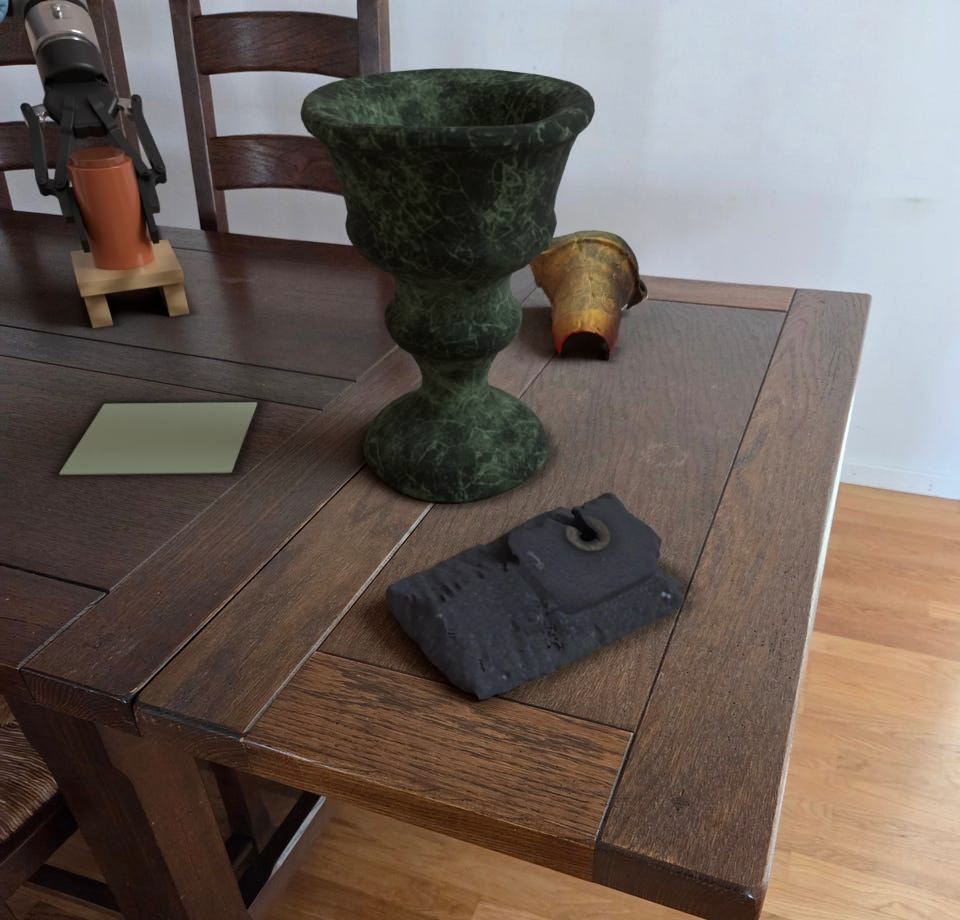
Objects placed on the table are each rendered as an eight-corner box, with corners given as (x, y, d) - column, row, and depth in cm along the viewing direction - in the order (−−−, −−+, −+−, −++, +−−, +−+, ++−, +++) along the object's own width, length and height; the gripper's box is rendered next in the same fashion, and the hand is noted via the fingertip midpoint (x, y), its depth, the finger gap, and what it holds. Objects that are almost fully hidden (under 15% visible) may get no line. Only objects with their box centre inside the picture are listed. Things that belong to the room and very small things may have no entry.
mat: (60, 477, 83) (58, 473, 82) (105, 407, 93) (104, 403, 93) (231, 475, 83) (231, 471, 83) (257, 405, 93) (257, 402, 93)
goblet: (301, 492, 81) (241, 116, 61) (395, 385, 97) (373, 60, 77) (534, 535, 75) (553, 140, 55) (593, 415, 91) (624, 74, 71)
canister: (86, 270, 107) (54, 162, 99) (104, 250, 112) (75, 146, 104) (146, 270, 107) (119, 161, 99) (161, 249, 112) (137, 145, 104)
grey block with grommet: (359, 601, 69) (354, 551, 66) (577, 510, 78) (581, 463, 75) (472, 718, 60) (471, 667, 56) (704, 599, 69) (715, 549, 66)
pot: (521, 288, 94) (537, 184, 103) (489, 363, 103) (506, 263, 112) (669, 339, 97) (672, 234, 106) (625, 408, 107) (631, 306, 116)
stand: (92, 333, 107) (77, 283, 103) (84, 299, 116) (70, 251, 112) (192, 318, 111) (181, 268, 107) (178, 285, 119) (167, 239, 115)
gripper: (-33, 40, 99) (22, 236, 98) (153, 29, 105) (206, 214, 104) (-15, 87, 106) (36, 269, 106) (158, 74, 112) (207, 247, 111)
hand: (120, 241), depth 105 cm, fingers closed on canister, 7 cm apart
